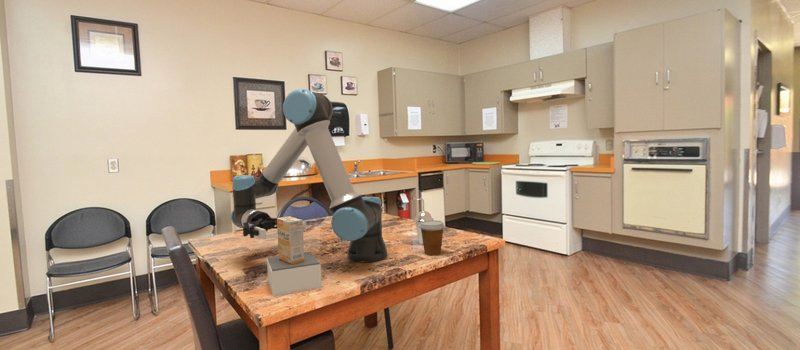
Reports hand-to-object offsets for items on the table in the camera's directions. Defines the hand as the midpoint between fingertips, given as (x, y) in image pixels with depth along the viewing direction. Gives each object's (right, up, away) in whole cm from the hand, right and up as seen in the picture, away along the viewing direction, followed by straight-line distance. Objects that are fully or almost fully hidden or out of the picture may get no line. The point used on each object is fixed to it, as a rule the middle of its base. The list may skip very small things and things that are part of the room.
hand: (286, 230), depth 120 cm
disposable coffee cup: (+48, -13, +30) cm, 58 cm away
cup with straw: (+46, -12, +45) cm, 65 cm away
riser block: (+3, -17, 0) cm, 17 cm away
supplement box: (+2, -9, -1) cm, 10 cm away
